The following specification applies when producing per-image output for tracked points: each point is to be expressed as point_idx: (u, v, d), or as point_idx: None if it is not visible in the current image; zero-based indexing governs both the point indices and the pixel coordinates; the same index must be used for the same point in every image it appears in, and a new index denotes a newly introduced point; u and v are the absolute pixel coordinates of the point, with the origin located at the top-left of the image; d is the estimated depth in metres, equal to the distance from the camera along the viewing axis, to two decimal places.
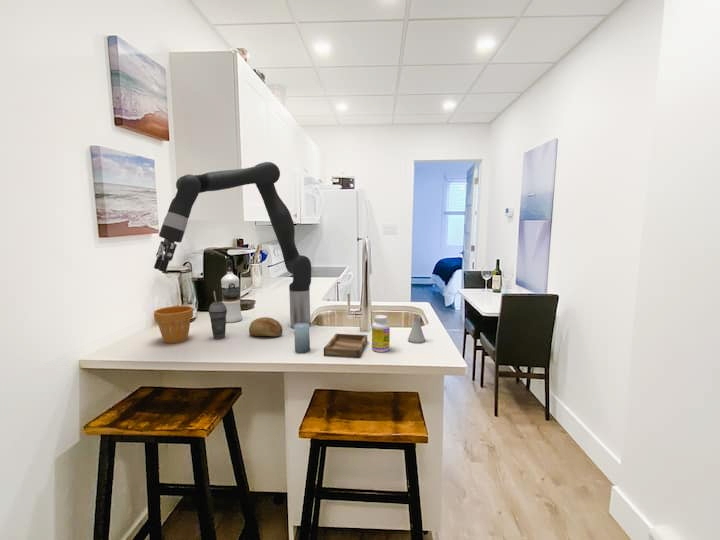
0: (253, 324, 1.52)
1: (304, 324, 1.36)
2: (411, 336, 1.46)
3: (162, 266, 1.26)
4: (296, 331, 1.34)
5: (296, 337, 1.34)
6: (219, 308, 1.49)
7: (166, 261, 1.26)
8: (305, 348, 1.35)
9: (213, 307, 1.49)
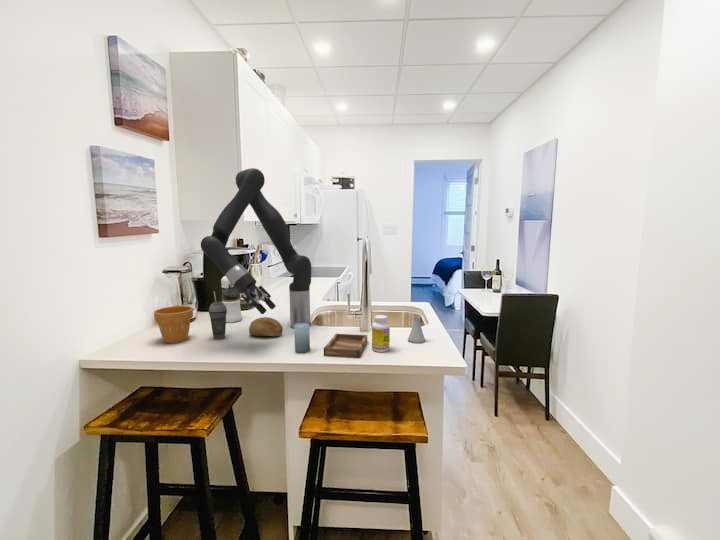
0: (253, 324, 1.52)
1: (304, 324, 1.36)
2: (411, 336, 1.46)
3: (259, 310, 1.32)
4: (296, 331, 1.34)
5: (296, 337, 1.34)
6: (219, 308, 1.49)
7: (256, 305, 1.32)
8: (305, 348, 1.35)
9: (213, 307, 1.49)
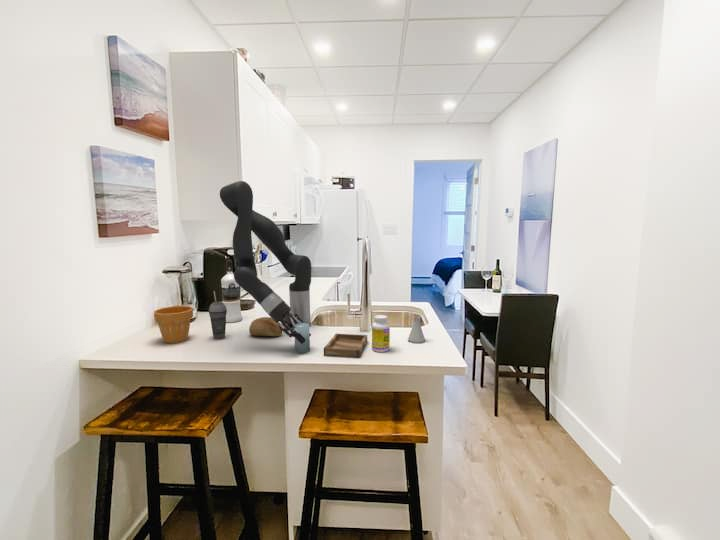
0: (253, 324, 1.52)
1: (304, 324, 1.36)
2: (411, 336, 1.46)
3: (298, 340, 1.32)
4: None
5: None
6: (219, 308, 1.49)
7: (296, 335, 1.32)
8: (305, 347, 1.35)
9: (213, 307, 1.49)
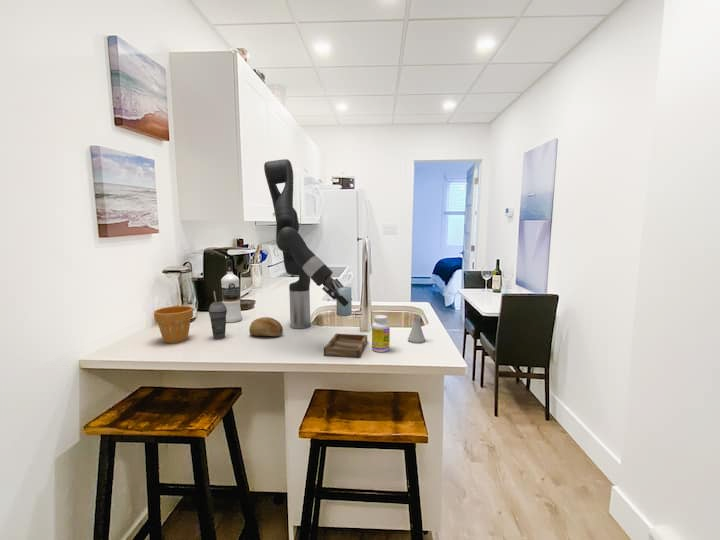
0: (253, 324, 1.52)
1: (346, 287, 1.35)
2: (411, 336, 1.46)
3: (341, 303, 1.31)
4: None
5: None
6: (218, 308, 1.49)
7: (339, 297, 1.31)
8: (347, 311, 1.33)
9: (213, 307, 1.49)
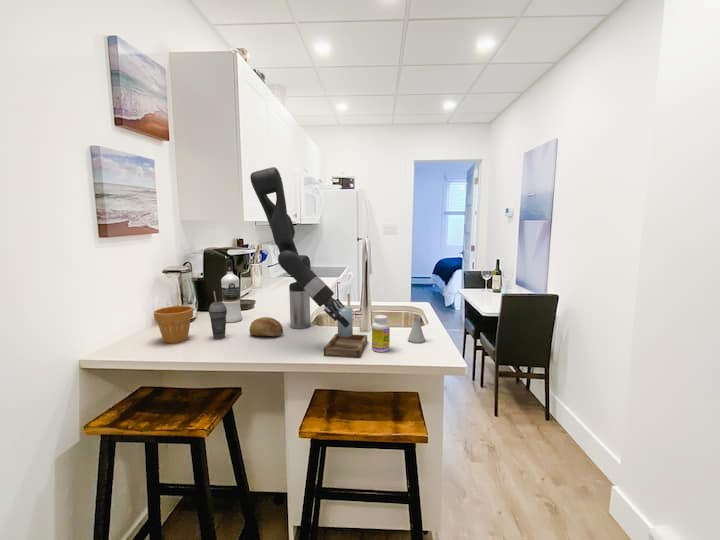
0: (253, 324, 1.53)
1: (347, 308, 1.36)
2: (411, 336, 1.46)
3: (343, 324, 1.32)
4: None
5: None
6: (219, 308, 1.49)
7: (340, 319, 1.32)
8: (348, 331, 1.34)
9: (213, 307, 1.49)
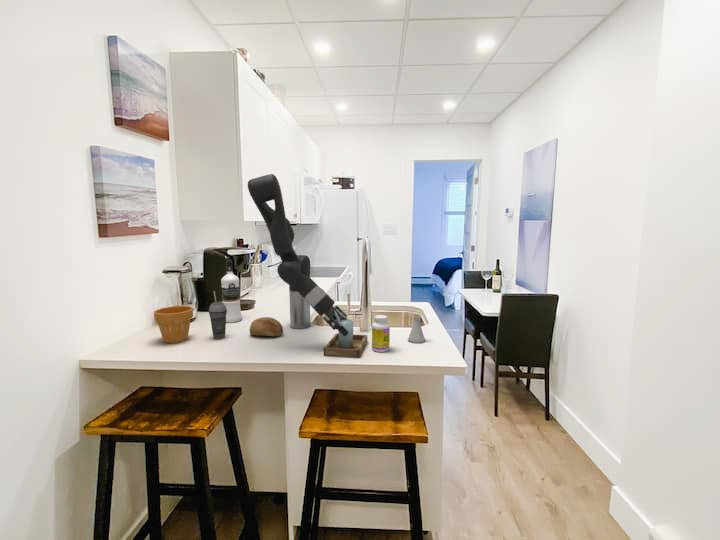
0: (254, 324, 1.53)
1: (348, 321, 1.37)
2: (411, 336, 1.46)
3: (341, 333, 1.32)
4: None
5: None
6: (219, 308, 1.49)
7: (339, 328, 1.32)
8: (349, 344, 1.35)
9: (213, 307, 1.49)
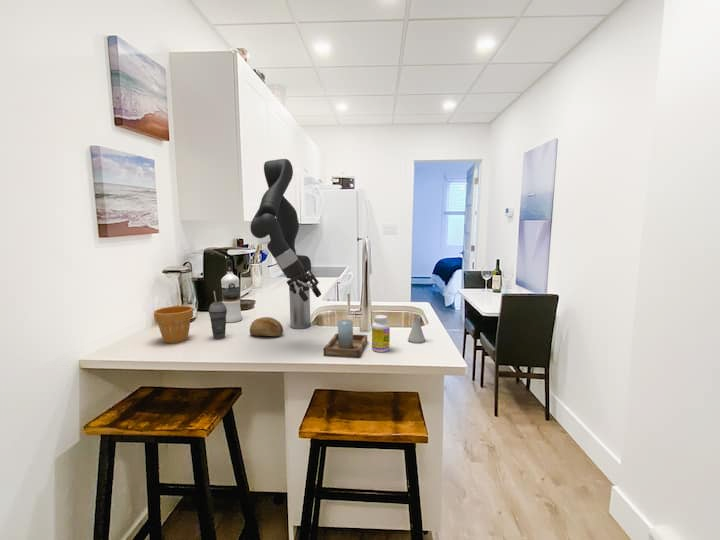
0: (254, 324, 1.53)
1: (347, 321, 1.37)
2: (411, 336, 1.46)
3: (317, 292, 1.35)
4: (340, 328, 1.34)
5: (341, 334, 1.35)
6: (219, 308, 1.49)
7: (315, 287, 1.35)
8: (349, 344, 1.35)
9: (213, 307, 1.49)
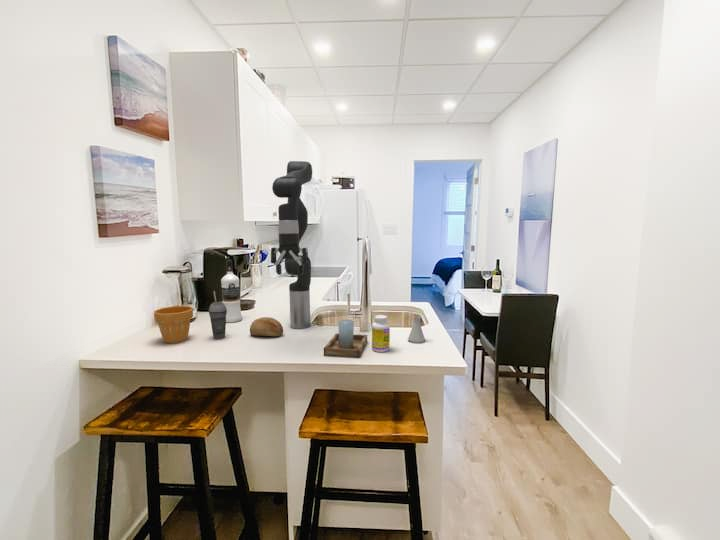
0: (254, 324, 1.53)
1: (348, 321, 1.37)
2: (411, 336, 1.46)
3: (302, 270, 1.38)
4: (342, 328, 1.35)
5: (342, 333, 1.35)
6: (219, 308, 1.49)
7: (303, 265, 1.38)
8: (350, 344, 1.35)
9: (213, 307, 1.49)
